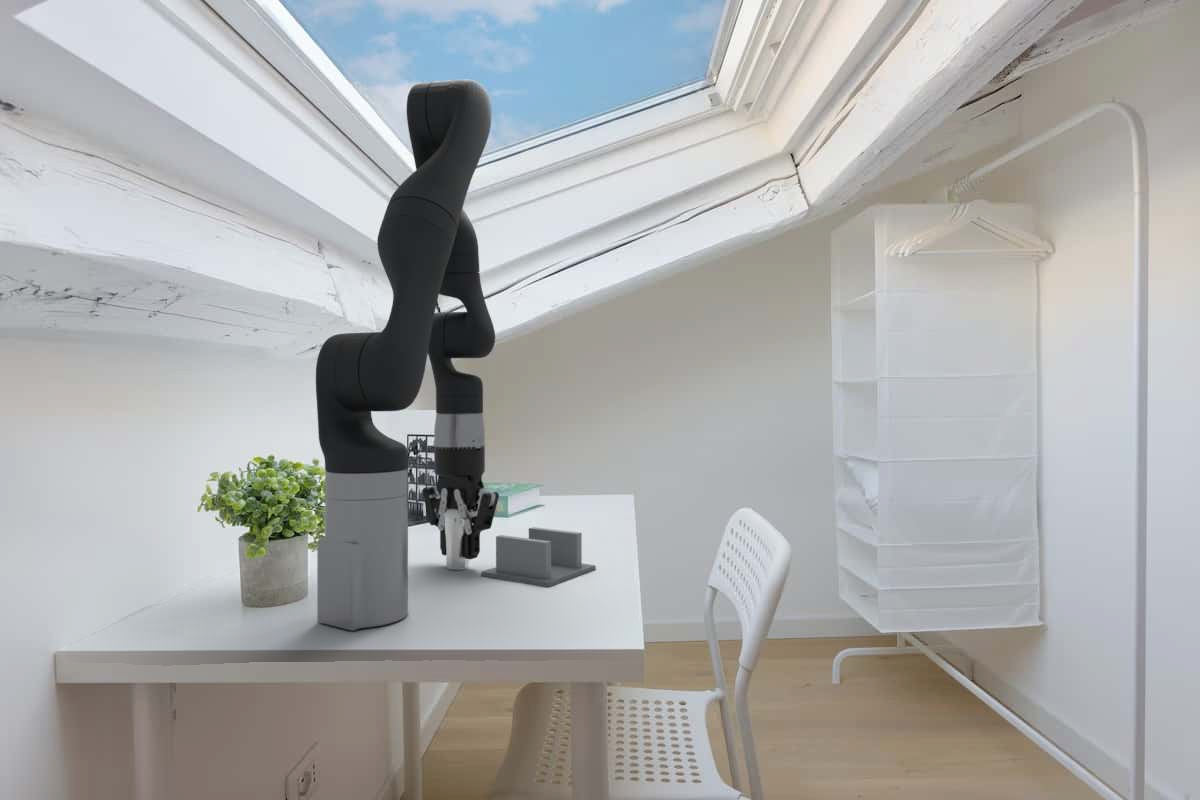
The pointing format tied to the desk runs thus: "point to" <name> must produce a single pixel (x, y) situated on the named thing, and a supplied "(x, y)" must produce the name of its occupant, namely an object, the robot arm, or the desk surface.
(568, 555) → the cradle
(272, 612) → the desk surface
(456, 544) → the milkshake
